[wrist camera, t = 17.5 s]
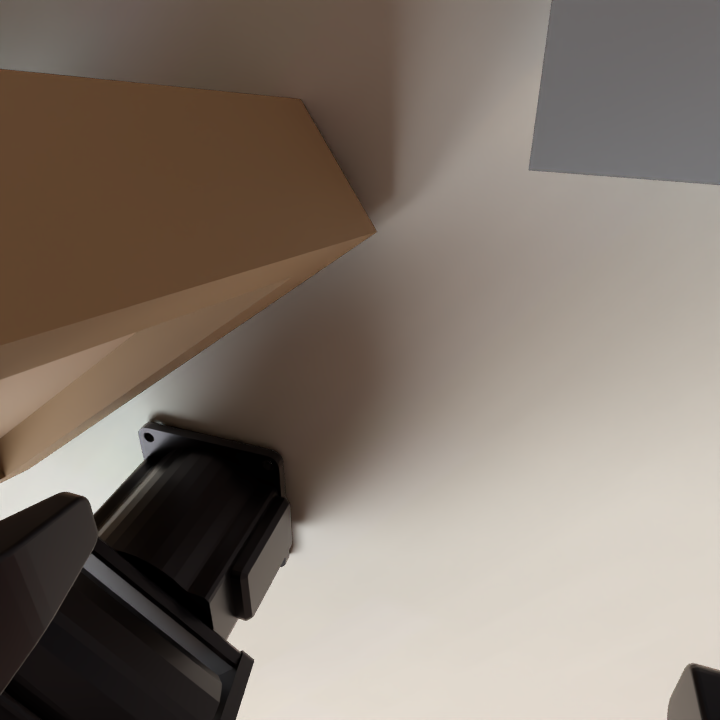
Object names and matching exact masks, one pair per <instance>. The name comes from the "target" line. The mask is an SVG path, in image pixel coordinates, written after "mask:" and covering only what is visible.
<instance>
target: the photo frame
mask: <svg viewBox="0 0 720 720" xmlns="http://www.w3.org/2000/svg"><path fill="white" fill-rule="evenodd" d="M376 232H377V231H376V229H375V228H374V226H373V224H372V222H371V221H370V219H369V217H368V215H367V214H366V212H365V210H364V209H363V207H362V205H361V203H360V202H359V200H358V198H357V196H356V195H355V193H354V191H353V189H352V188H351V186H350V184H349V182H348V181H347V179H346V177H345V175H344V174H343V172H342V170H341V169H340V167H339V165H338V163H337V162H336V160H335V158H334V156H333V155H332V153H331V151H330V149H329V148H328V146H327V144H326V142H325V141H324V139H323V137H322V136H321V134H320V132H319V130H318V129H317V127H316V125H315V123H314V122H313V120H312V118H311V116H310V115H309V113H308V111H307V109H306V108H305V106H304V104H303V103H302V101H301V99H295V98H285V97H275V96H265V95H255V94H245V93H235V92H225V91H215V90H205V89H195V88H185V87H175V86H165V85H155V84H145V83H135V82H125V81H115V80H105V79H95V78H85V77H75V76H65V75H55V74H45V73H35V72H25V71H15V70H5V69H0V483H2V482H4V481H6V480H8V479H10V478H12V477H14V476H16V475H18V474H20V473H22V472H24V471H26V470H28V469H30V468H31V467H33V466H34V465H35V464H37V463H38V462H40V461H41V460H43V459H44V458H46V457H47V456H49V455H50V454H52V453H53V452H55V451H56V450H57V449H59V448H60V447H62V446H63V445H65V444H66V443H68V442H69V441H71V440H72V439H74V438H75V437H77V436H78V435H79V434H81V433H82V432H84V431H85V430H87V429H88V428H90V427H91V426H93V425H94V424H96V423H97V422H99V421H100V420H102V419H103V418H104V417H106V416H107V415H109V414H110V413H112V412H113V411H115V410H116V409H118V408H119V407H121V406H122V405H124V404H125V403H126V402H128V401H129V400H131V399H132V398H134V397H135V396H137V395H138V394H140V393H141V392H143V391H144V390H146V389H147V388H149V387H150V386H151V385H153V384H154V383H156V382H157V381H159V380H160V379H162V378H163V377H165V376H166V375H168V374H169V373H171V372H172V371H173V370H175V369H176V368H178V367H179V366H181V365H182V364H184V363H185V362H187V361H188V360H190V359H191V358H193V357H194V356H195V355H197V354H198V353H200V352H201V351H203V350H204V349H206V348H207V347H209V346H210V345H212V344H213V343H215V342H216V341H218V340H219V339H220V338H222V337H223V336H225V335H226V334H228V333H229V332H231V331H232V330H234V329H235V328H237V327H238V326H240V325H241V324H242V323H244V322H245V321H247V320H248V319H250V318H251V317H253V316H254V315H256V314H257V313H259V312H260V311H262V310H263V309H265V308H266V307H267V306H269V305H270V304H272V303H273V302H275V301H276V300H278V299H279V298H281V297H282V296H284V295H285V294H287V293H288V292H289V291H291V290H292V289H294V288H295V287H297V286H298V285H300V284H301V283H303V282H304V281H306V280H307V279H309V278H310V277H311V276H313V275H314V274H316V273H317V272H319V271H320V270H322V269H323V268H325V267H326V266H328V265H329V264H331V263H332V262H334V261H335V260H336V259H338V258H339V257H341V256H342V255H344V254H345V253H347V252H348V251H350V250H351V249H353V248H354V247H356V246H357V245H358V244H360V243H361V242H363V241H364V240H366V239H367V238H369V237H370V236H372V235H373V234H375V233H376Z"/></svg>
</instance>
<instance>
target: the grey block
mask: <svg viewBox="0 0 720 720" xmlns="http://www.w3.org/2000/svg"><path fill="white" fill-rule="evenodd" d="M529 170H532V171H545V172H558V173H571V174H584V175H597V176H610V177H623V178H636V179H649V180H662V181H675V182H688V183H701V184H714V185H720V0H552V3H551V11H550V18H549V25H548V32H547V40H546V47H545V54H544V62H543V69H542V76H541V84H540V91H539V98H538V105H537V113H536V120H535V127H534V135H533V142H532V149H531V156H530V164H529Z"/></svg>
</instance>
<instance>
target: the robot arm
mask: <svg viewBox="0 0 720 720" xmlns="http://www.w3.org/2000/svg"><path fill="white" fill-rule="evenodd" d="M139 439H140V443H141V448H142V453H143V457H144V461H143V462H142V463H141V464H140V465H139V466H138V467H137V468H136V470H135V471H134V472H133V473H132V474H131V475H130V476H129V477H128V478H127V479H126V480H125V481H124V482H123V483H122V485H121V486H120V487H119V488H118V489H117V490H116V491H115V492H114V493H113V494H112V495H111V496H110V497H109V499H108V500H107V501H106V502H105V503H104V504H103V505H102V506H101V507H100V508H99V509H98V510H97V511H96V513H95V514H94V515H93V512H92V509H91V506H90V503H89V501H88V499H87V498H86V497H84V496H80V495H77V494H73V493H69V492H61V493H58V494H56V495H54V496H51V497H49V498H47V499H45V500H43V501H41V502H39V503H37V504H35V505H33V506H30V507H28V508H26V509H24V510H22V511H20V512H18V513H16V514H14V515H11V516H9V517H7V518H5V519H3V520H1V521H0V720H236V717H237V714H238V710H239V707H240V704H241V701H242V698H243V695H244V691H245V688H246V685H247V682H248V679H249V676H250V672H251V669H252V666H253V663H254V659H253V658H251V657H250V656H249V655H248V654H247V653H245V652H244V651H239V650H237V649H236V648H235V647H234V646H232V645H231V644H230V643H229V642H228V641H226V640H227V638H228V637H229V635H230V633H231V631H232V629H233V628H234V626H235V624H236V622H237V620H238V619H242V620H245V621H247V620H249V619H250V618H252V617H253V616H254V615H255V613H256V611H257V609H258V607H259V605H260V603H261V601H262V600H263V598H264V596H265V594H266V592H267V590H268V588H269V586H270V585H271V583H272V581H273V579H274V577H275V575H276V573H277V571H278V570H279V568H280V567H283V566H284V565H285V564H286V562H287V560H288V558H289V549H290V547H291V545H292V529H291V513H290V503H289V501H288V499H287V498H286V495H285V480H284V464H283V459H282V457H281V456H280V454H278V453H277V452H276V451H273V450H270V449H266V448H261V447H257V446H253V445H248V444H244V443H239V442H235V441H231V440H226V439H222V438H218V437H213V436H209V435H205V434H200V433H196V432H192V431H187V430H183V429H179V428H174V427H170V426H165V425H161V424H157V423H152V422H148V423H146V424H145V425H144V426H143V427H142V428H141V429H140V430H139ZM268 461H269V462H271V463H272V464H271V463H269V462H268ZM667 720H720V670H717V669H713V668H710V667H706V666H702V665H699V664H695V663H691V664H689V665H687V666H686V668H685V669H684V671H683V673H682V675H681V677H680V679H679V681H678V683H677V685H676V687H675V689H674V691H673V693H672V695H671V698H670V701H669V705H668V713H667Z"/></svg>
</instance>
